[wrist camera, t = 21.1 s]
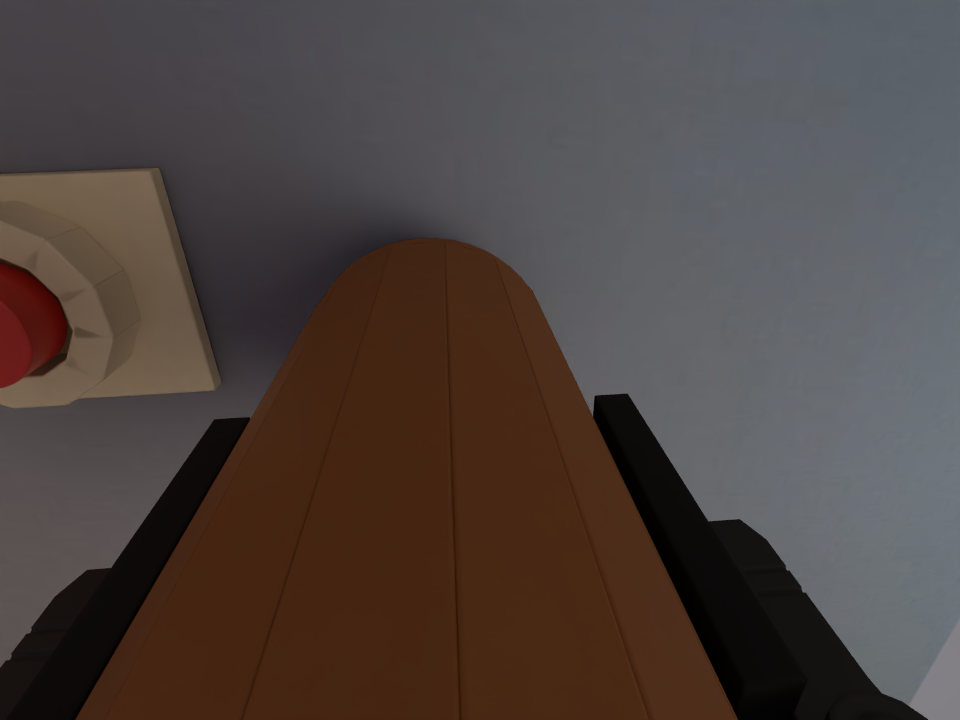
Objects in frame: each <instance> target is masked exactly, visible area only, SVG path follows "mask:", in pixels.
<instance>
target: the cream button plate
mask: <svg viewBox="0 0 960 720" xmlns="http://www.w3.org/2000/svg"><path fill="white" fill-rule="evenodd" d="M0 263H5V264H8V265H11V266H13V267H16V268H18V269H20V270H22V271H24V272H26V273H28V274H29V275H31V276H32V277H34V278H35V279H37V280H38V281H39V282H40V283H42V284H43V285H44V286H45V287H46V288H47V289H48V290H49V291H50V292H51V293H52V295H53V296H54V297H55V298H56V300H57V301H58V303H59V305H60V306H61V308H62V310H63V313H64V316H65V319H66V324H67V336H66V340H65V343H64V345H63V347H62V349H61V350H60V352H59V353H58V354H57V355H56V356H55V357H54V358H52V359H51V360H49V361H48V362H46V363H45V364H43V365H42V366H40V367H39V368H37V369H36V370H34V371H33V372H32V373H30V374H29V375H27V376H26V377H24V378H23V379H21V380H20V381H18V382H16V383H15V384H13V385H10V386H8V387H4V388H0V404H1V405H4V406H7V407H10V408H28V407H45V406H62V405H68V404H70V403H71V402H73V401H74V400H76V399H81V398H98V397H115V396H132V395H149V394H166V393H183V392H200V391H214V390H216V389H217V387H218V386H219V385H220V384H221V379H220V376H219V372H218V369H217V365H216V362H215V358H214V355H213V351H212V348H211V345H210V341H209V338H208V334H207V331H206V327H205V324H204V320H203V317H202V314H201V310H200V307H199V303H198V300H197V296H196V293H195V289H194V286H193V283H192V279H191V276H190V272H189V269H188V265H187V262H186V258H185V255H184V252H183V248H182V245H181V241H180V238H179V234H178V231H177V227H176V224H175V221H174V217H173V214H172V210H171V207H170V203H169V200H168V196H167V193H166V190H165V186H164V183H163V179H162V176H161V172H160V170H159V168H137V169H111V170H86V171H60V172H35V173H9V174H0Z"/></svg>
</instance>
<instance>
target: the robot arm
mask: <svg viewBox="0 0 960 720" xmlns="http://www.w3.org/2000/svg"><path fill="white" fill-rule="evenodd" d="M593 418H594V420H595V422H596V424H597V426H598V429H599V431H600V433H601V435H602V437H603V439H604V441H605V443H606V445H607V447H608V449H609V452H610V454H611V456H612V458H613V460H614V462H615V464H616V466H617V468H618V470H619V472H620V475H621V477H622V479H623V481H624V483H625V485H626V487H627V489H628V491H629V493H630V495H631V497H632V500H633V502H634V504H635V506H636V508H637V510H638V512H639V514H640V516H641V518H642V520H643V523H644V525H645V527H646V529H647V531H648V533H649V535H650V537H651V539H652V541H653V543H654V546H655V548H656V550H657V552H658V554H659V556H660V558H661V560H662V562H663V564H664V566H665V568H666V571H667V573H668V575H669V577H670V579H671V581H672V583H673V585H674V587H675V589H676V591H677V594H678V596H679V598H680V600H681V602H682V604H683V606H684V608H685V610H686V612H687V614H688V617H689V619H690V621H691V623H692V625H693V627H694V629H695V631H696V633H697V635H698V637H699V639H700V642H701V644H702V646H703V648H704V650H705V652H706V654H707V656H708V658H709V660H710V662H711V665H712V667H713V669H714V671H715V673H716V675H717V677H718V679H719V681H720V683H721V685H722V688H723V690H724V692H725V694H726V696H727V698H728V700H729V702H730V704H731V706H732V708H733V710H734V713H735V715H736V717H737V719H738V720H928V719H927V718H925V717H924V716H922V715H921V714H919V713H918V712H916V711H915V710H914V709H912V708H911V707H909V706H908V705H906V704H905V703H903V702H902V701H899V700H897V699H894V698H892V697H889V696H887V695H884V694H882V693H881V692H880V691H879V690H878V689H877V687H876V686H875V685H874V684H873V683H872V682H871V680H870V679H869V678H868V677H867V675H866V674H865V673H864V671H863V670H862V669H861V667H860V666H859V665H858V663H857V662H856V660H855V659H854V658H853V656H852V655H851V654H850V652H849V651H848V650H847V648H846V647H845V646H844V644H843V643H842V641H841V640H840V639H839V637H838V636H837V635H836V633H835V632H834V631H833V629H832V628H831V627H830V625H829V624H828V622H827V621H826V620H825V618H824V617H823V616H822V614H821V613H820V612H819V610H818V609H817V608H816V606H815V605H814V603H813V602H812V601H811V599H810V598H809V597H808V595H807V594H806V593H803V592H802V589H801V586H800V584H799V583H798V582H797V580H796V579H795V578H794V576H793V575H792V574H791V572H790V571H787V570H786V565H785V564H784V563H783V561H782V560H781V559H780V557H779V556H778V555H777V553H776V552H775V551H774V549H773V548H772V546H771V545H770V544H769V542H768V541H767V540H766V539H765V538H763V537H762V536H761V535H760V534H758V533H757V532H756V531H754V530H753V529H752V528H750V527H749V526H748V525H747V524H745V523H744V522H743V521H741V520H740V519H737V520H723V521H710V522H708V520H707V519H706V517H705V516H704V514H703V512H702V511H701V509H700V508H699V506H698V504H697V503H696V501H695V500H694V498H693V497H692V495H691V493H690V492H689V490H688V489H687V487H686V485H685V484H684V482H683V481H682V479H681V478H680V476H679V474H678V473H677V471H676V470H675V468H674V466H673V465H672V463H671V462H670V460H669V459H668V457H667V455H666V454H665V452H664V451H663V449H662V447H661V446H660V444H659V443H658V441H657V440H656V438H655V436H654V435H653V433H652V432H651V430H650V428H649V427H648V425H647V424H646V422H645V421H644V419H643V417H642V416H641V414H640V413H639V411H638V409H637V408H636V406H635V405H634V403H633V401H632V400H631V398H630V397H629V395H628V394H615V395H598V396H595V399H594V412H593ZM249 421H250V417H246V418H230V419H214V421H213V422H212V424H211V425H210V426H209V428H208V429H207V431H206V432H205V434H204V435H203V437H202V438H201V439H200V441H199V442H198V444H197V445H196V447H195V448H194V449H193V451H192V452H191V454H190V455H189V457H188V458H187V460H186V461H185V462H184V464H183V465H182V467H181V468H180V470H179V471H178V473H177V474H176V475H175V477H174V478H173V480H172V481H171V483H170V484H169V485H168V487H167V488H166V490H165V491H164V493H163V494H162V496H161V497H160V498H159V500H158V501H157V503H156V504H155V506H154V507H153V509H152V510H151V511H150V513H149V514H148V516H147V517H146V519H145V520H144V521H143V523H142V524H141V526H140V527H139V529H138V530H137V532H136V533H135V534H134V536H133V537H132V539H131V540H130V542H129V543H128V545H127V546H126V547H125V549H124V550H123V552H122V553H121V555H120V556H119V557H118V559H117V560H116V562H115V563H114V565H113V566H112V568H106V569H93V570H87V571H85V572H84V573H83V574H82V575H81V576H79V577H78V578H77V579H76V580H75V581H73V582H72V583H71V584H70V585H69V586H67V587H66V588H65V589H64V590H62V591H61V592H60V593H59V594H58V595H56V596H55V597H54V599H53V600H52V601H51V603H50V604H49V605H48V606H47V608H46V609H45V610H44V612H43V613H42V614H41V616H40V617H39V618H38V620H37V621H36V622H35V623H34V625H33V626H32V627H31V628H32V631H31V633H29V634H26V635H25V636H24V638H23V639H22V640H21V642H20V643H19V644H18V646H17V647H16V648H15V650H14V651H13V652H12V653H11V654H12V657H11V659H10V660H7V661H5V663H4V664H3V665H2V666H1V668H0V720H75V719H76V718H77V716H78V714H79V713H80V711H81V709H82V707H83V706H84V704H85V702H86V701H87V699H88V697H89V695H90V694H91V692H92V690H93V689H94V687H95V685H96V683H97V682H98V680H99V678H100V677H101V675H102V673H103V671H104V670H105V668H106V666H107V665H108V663H109V661H110V659H111V658H112V656H113V654H114V653H115V651H116V649H117V647H118V646H119V644H120V642H121V641H122V639H123V637H124V635H125V634H126V632H127V630H128V629H129V627H130V625H131V623H132V622H133V620H134V618H135V617H136V615H137V613H138V611H139V610H140V608H141V606H142V605H143V603H144V601H145V599H146V598H147V596H148V594H149V593H150V591H151V589H152V587H153V586H154V584H155V582H156V581H157V579H158V577H159V575H160V574H161V572H162V570H163V569H164V567H165V565H166V563H167V562H168V560H169V558H170V557H171V555H172V553H173V551H174V550H175V548H176V546H177V545H178V543H179V541H180V539H181V538H182V536H183V534H184V533H185V531H186V529H187V527H188V526H189V524H190V522H191V521H192V519H193V517H194V515H195V514H196V512H197V510H198V509H199V507H200V505H201V503H202V502H203V500H204V498H205V497H206V495H207V493H208V491H209V490H210V488H211V486H212V485H213V483H214V481H215V479H216V478H217V476H218V474H219V473H220V471H221V469H222V467H223V466H224V464H225V462H226V461H227V459H228V457H229V455H230V454H231V452H232V450H233V449H234V447H235V445H236V443H237V442H238V440H239V438H240V437H241V435H242V433H243V431H244V430H245V428H246V426H247V425H248V423H249Z"/></svg>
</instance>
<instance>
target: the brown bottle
mask: <svg viewBox="0 0 960 720" xmlns="http://www.w3.org/2000/svg"><path fill="white" fill-rule="evenodd" d="M75 720H738V719H737V717H736V715H735V713H734V710H733V708H732V706H731V704H730V702H729V700H728V698H727V696H726V694H725V692H724V690H723V688H722V685H721V683H720V681H719V679H718V677H717V675H716V673H715V671H714V669H713V667H712V665H711V662H710V660H709V658H708V656H707V654H706V652H705V650H704V648H703V646H702V644H701V642H700V639H699V637H698V635H697V633H696V631H695V629H694V627H693V625H692V623H691V621H690V619H689V617H688V614H687V612H686V610H685V608H684V606H683V604H682V602H681V600H680V598H679V596H678V594H677V591H676V589H675V587H674V585H673V583H672V581H671V579H670V577H669V575H668V573H667V571H666V568H665V566H664V564H663V562H662V560H661V558H660V556H659V554H658V552H657V550H656V548H655V546H654V543H653V541H652V539H651V537H650V535H649V533H648V531H647V529H646V527H645V525H644V523H643V520H642V518H641V516H640V514H639V512H638V510H637V508H636V506H635V504H634V502H633V500H632V497H631V495H630V493H629V491H628V489H627V487H626V485H625V483H624V481H623V479H622V477H621V475H620V472H619V470H618V468H617V466H616V464H615V462H614V460H613V458H612V456H611V454H610V452H609V449H608V447H607V445H606V443H605V441H604V439H603V437H602V435H601V433H600V431H599V429H598V426H597V424H596V422H595V420H594V418H593V416H592V414H591V412H590V410H589V408H588V406H587V404H586V401H585V399H584V397H583V395H582V393H581V391H580V389H579V387H578V385H577V383H576V381H575V378H574V376H573V374H572V372H571V370H570V368H569V366H568V364H567V362H566V360H565V358H564V355H563V353H562V351H561V349H560V347H559V345H558V343H557V341H556V339H555V337H554V335H553V333H552V330H551V328H550V326H549V324H548V322H547V320H546V318H545V316H544V314H543V312H542V310H541V307H540V305H539V303H538V301H537V299H536V297H535V295H534V293H533V291H532V290H531V288H530V287H529V286H528V285H527V284H526V283H525V282H524V280H523V279H522V278H521V277H520V276H519V275H518V274H517V273H516V272H515V271H514V270H513V269H512V268H511V267H510V266H508V265H507V264H506V263H504V262H503V261H502V260H500V259H499V258H497V257H496V256H494V255H492V254H490V253H488V252H487V251H485V250H482V249H480V248H477V247H475V246H472V245H470V244H466V243H462V242H458V241H454V240H448V239H439V238H417V239H411V240H404V241H399V242H396V243H392V244H389V245H385V246H383V247H381V248H379V249H376V250H374V251H372V252H370V253H368V254H367V255H365V256H363V257H362V258H360V259H358V260H357V261H356V262H354V263H353V264H352V265H351V266H349V267H348V268H347V269H346V270H345V271H344V272H343V273H342V274H341V275H340V276H339V277H338V278H337V279H336V280H335V282H334V283H333V284H332V286H331V287H330V289H329V290H328V292H327V293H326V295H325V296H324V297H323V299H322V300H321V301H320V302H319V304H318V305H317V306H316V308H315V310H314V311H313V313H312V315H311V317H310V318H309V320H308V322H307V323H306V325H305V327H304V329H303V330H302V332H301V334H300V335H299V337H298V339H297V341H296V342H295V344H294V346H293V347H292V349H291V351H290V353H289V354H288V356H287V358H286V359H285V361H284V363H283V365H282V366H281V368H280V370H279V371H278V373H277V375H276V377H275V378H274V380H273V382H272V383H271V385H270V387H269V389H268V390H267V392H266V394H265V395H264V397H263V399H262V401H261V402H260V404H259V406H258V407H257V409H256V411H255V413H254V414H253V416H252V418H251V419H250V421H249V423H248V425H247V426H246V428H245V430H244V431H243V433H242V435H241V437H240V438H239V440H238V442H237V443H236V445H235V447H234V449H233V450H232V452H231V454H230V455H229V457H228V459H227V461H226V462H225V464H224V466H223V467H222V469H221V471H220V473H219V474H218V476H217V478H216V479H215V481H214V483H213V485H212V486H211V488H210V490H209V491H208V493H207V495H206V497H205V498H204V500H203V502H202V503H201V505H200V507H199V509H198V510H197V512H196V514H195V515H194V517H193V519H192V521H191V522H190V524H189V526H188V527H187V529H186V531H185V533H184V534H183V536H182V538H181V539H180V541H179V543H178V545H177V546H176V548H175V550H174V551H173V553H172V555H171V557H170V558H169V560H168V562H167V563H166V565H165V567H164V569H163V570H162V572H161V574H160V575H159V577H158V579H157V581H156V582H155V584H154V586H153V587H152V589H151V591H150V593H149V594H148V596H147V598H146V599H145V601H144V603H143V605H142V606H141V608H140V610H139V611H138V613H137V615H136V617H135V618H134V620H133V622H132V623H131V625H130V627H129V629H128V630H127V632H126V634H125V635H124V637H123V639H122V641H121V642H120V644H119V646H118V647H117V649H116V651H115V653H114V654H113V656H112V658H111V659H110V661H109V663H108V665H107V666H106V668H105V670H104V671H103V673H102V675H101V677H100V678H99V680H98V682H97V683H96V685H95V687H94V689H93V690H92V692H91V694H90V695H89V697H88V699H87V701H86V702H85V704H84V706H83V707H82V709H81V711H80V713H79V714H78V716H77V718H76V719H75Z"/></svg>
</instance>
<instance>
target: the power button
mask: <svg viewBox="0 0 960 720" xmlns="http://www.w3.org/2000/svg"><path fill="white" fill-rule="evenodd" d="M66 336H67V324H66V319H65V316H64V313H63V310H62V308H61V306H60V305H59V303H58V301H57V300H56V298H55V297H54V296H53V295H52V293H51V292H50V291H49V290H48V289H47V288H46V287H45V286H44V285H43V284H42V283H40V282H39V281H38V280H37V279H35V278H34V277H32V276H31V275H29V274H28V273H26V272H24V271H22V270H20V269H18V268H16V267H13V266H11V265H8V264H5V263H0V388H4V387H8V386H10V385H13V384H15V383H16V382H18V381H20V380H21V379H23V378H24V377H26V376H27V375H29V374H30V373H32V372H33V371H34V370H36V369H37V368H39V367H40V366H42V365H43V364H45V363H46V362H48V361H49V360H51V359H52V358H54V357H55V356H56V355H57V354H58V353H59V352H60V350H61V349H62V347H63V345H64V343H65V340H66Z"/></svg>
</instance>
